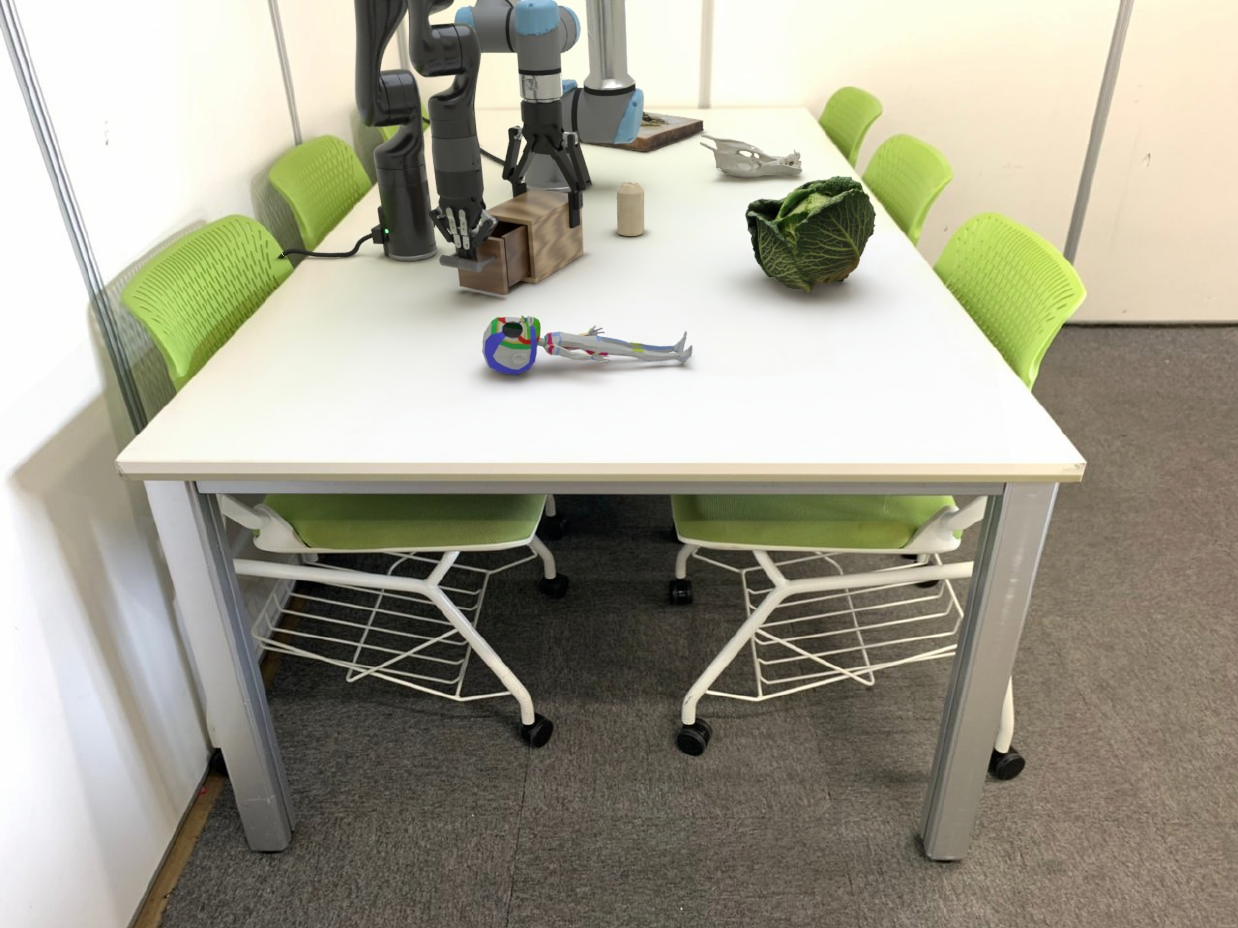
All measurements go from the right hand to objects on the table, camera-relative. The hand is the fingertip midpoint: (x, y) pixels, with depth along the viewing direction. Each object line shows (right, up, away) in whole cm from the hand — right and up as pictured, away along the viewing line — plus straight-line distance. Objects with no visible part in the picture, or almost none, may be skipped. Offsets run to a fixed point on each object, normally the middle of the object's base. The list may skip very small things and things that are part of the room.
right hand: (548, 222), depth 170 cm
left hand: (-12, -13, -18) cm, 25 cm away
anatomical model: (+46, +25, +51) cm, 73 cm away
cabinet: (-2, -8, 0) cm, 8 cm away
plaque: (+18, +49, +90) cm, 104 cm away
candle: (+16, +2, +15) cm, 22 cm away
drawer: (-8, -13, -10) cm, 18 cm away
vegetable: (+47, -14, -11) cm, 50 cm away
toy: (+9, -31, -37) cm, 49 cm away
